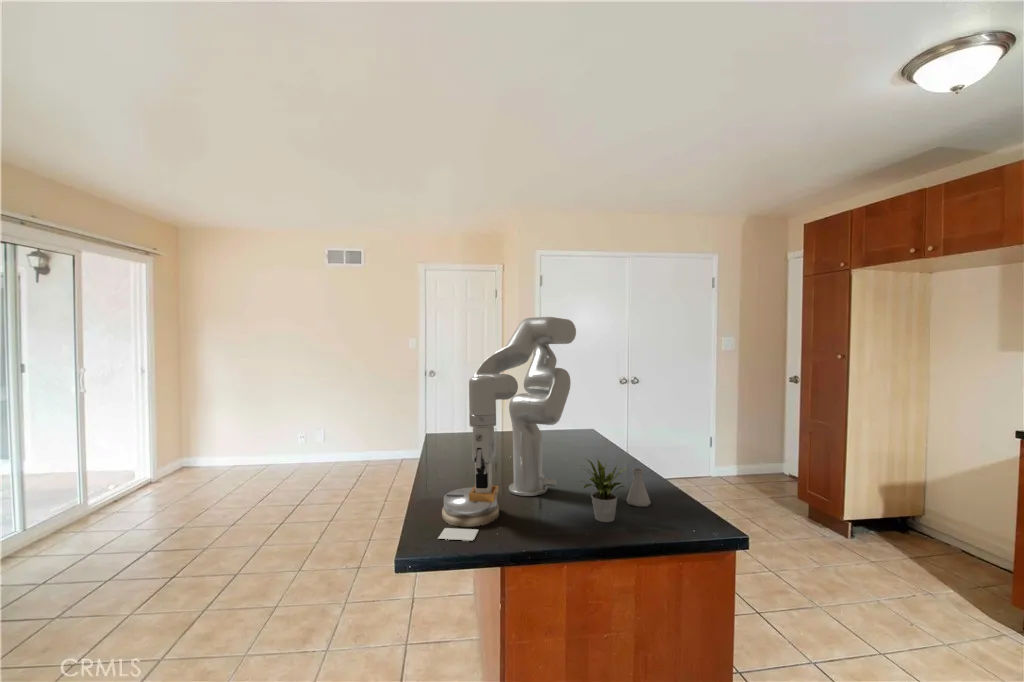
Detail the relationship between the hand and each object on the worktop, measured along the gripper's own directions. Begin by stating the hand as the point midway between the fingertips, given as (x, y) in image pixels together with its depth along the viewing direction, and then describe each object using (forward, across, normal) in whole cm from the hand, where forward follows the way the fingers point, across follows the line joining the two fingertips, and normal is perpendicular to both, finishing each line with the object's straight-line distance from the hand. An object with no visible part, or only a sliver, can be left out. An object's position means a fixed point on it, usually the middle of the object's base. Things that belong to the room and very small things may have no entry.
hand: (483, 484), depth 123 cm
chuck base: (+9, 0, +4) cm, 10 cm away
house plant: (+9, +2, -32) cm, 33 cm away
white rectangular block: (+3, 0, 0) cm, 3 cm away
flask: (+9, +14, -44) cm, 47 cm away
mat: (+9, -13, +4) cm, 16 cm away
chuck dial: (+6, 0, +4) cm, 8 cm away
